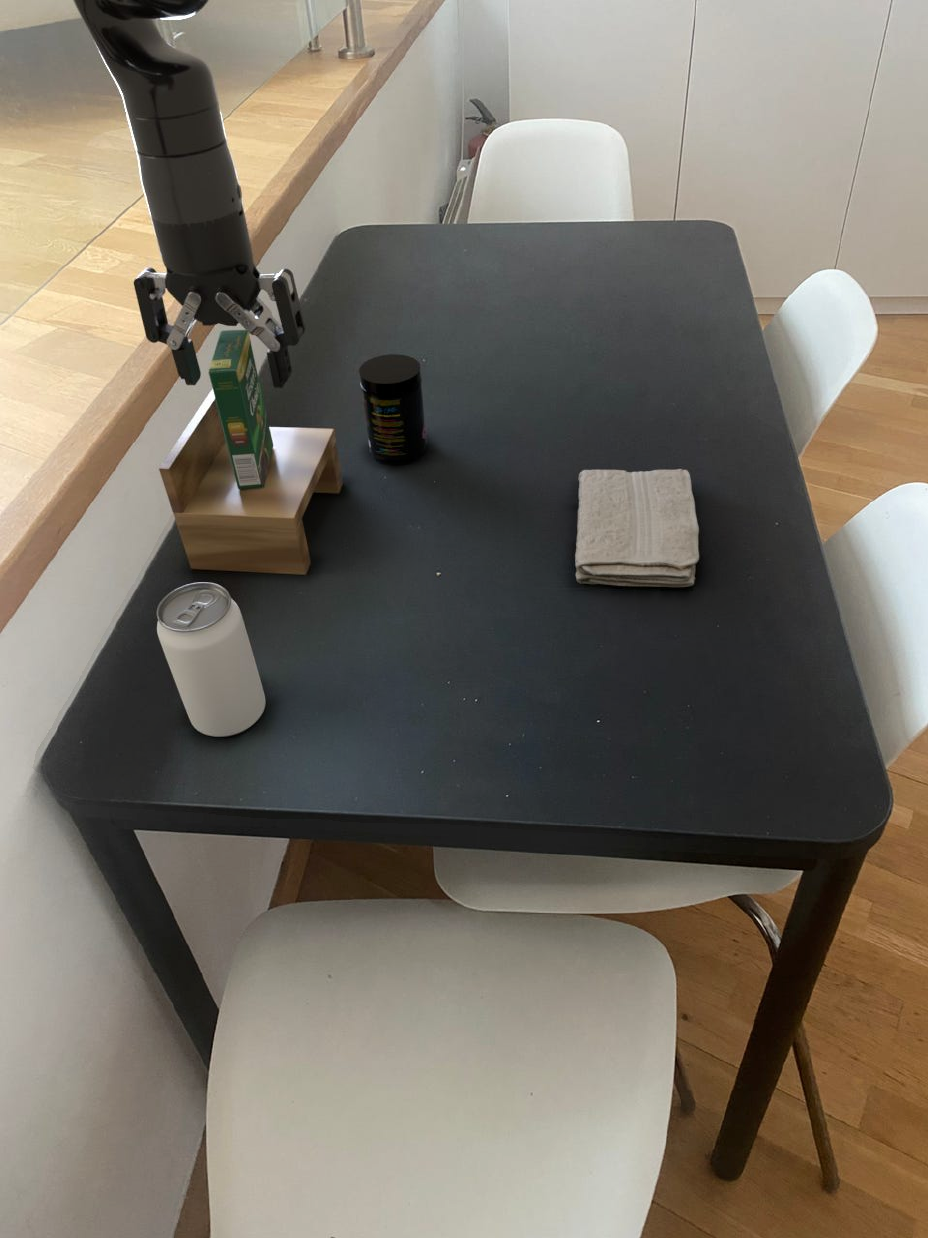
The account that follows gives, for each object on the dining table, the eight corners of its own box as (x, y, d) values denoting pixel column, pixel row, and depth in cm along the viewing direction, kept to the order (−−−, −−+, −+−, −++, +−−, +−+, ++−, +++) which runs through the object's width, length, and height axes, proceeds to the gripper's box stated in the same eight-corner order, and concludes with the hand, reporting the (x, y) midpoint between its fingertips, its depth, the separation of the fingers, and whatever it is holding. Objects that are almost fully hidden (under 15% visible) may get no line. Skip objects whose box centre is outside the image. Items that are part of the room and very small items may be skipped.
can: (281, 695, 79) (253, 590, 71) (237, 749, 75) (202, 644, 67) (220, 674, 81) (185, 570, 73) (174, 726, 77) (132, 621, 69)
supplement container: (431, 462, 105) (424, 379, 98) (372, 470, 104) (361, 387, 97) (423, 432, 110) (416, 350, 103) (367, 439, 109) (356, 358, 102)
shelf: (306, 575, 91) (284, 473, 83) (190, 569, 93) (158, 468, 84) (343, 483, 103) (327, 385, 94) (240, 479, 104) (216, 383, 96)
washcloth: (574, 590, 87) (575, 565, 85) (575, 482, 100) (576, 458, 98) (701, 593, 86) (705, 568, 84) (686, 484, 99) (689, 460, 97)
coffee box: (266, 490, 90) (237, 367, 81) (236, 492, 90) (204, 369, 81) (275, 446, 96) (250, 326, 87) (248, 448, 96) (219, 328, 87)
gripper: (94, 219, 74) (150, 400, 85) (265, 219, 72) (300, 405, 83) (131, 188, 79) (180, 362, 90) (291, 187, 77) (320, 365, 88)
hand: (237, 382), depth 86 cm, fingers open, 8 cm apart
